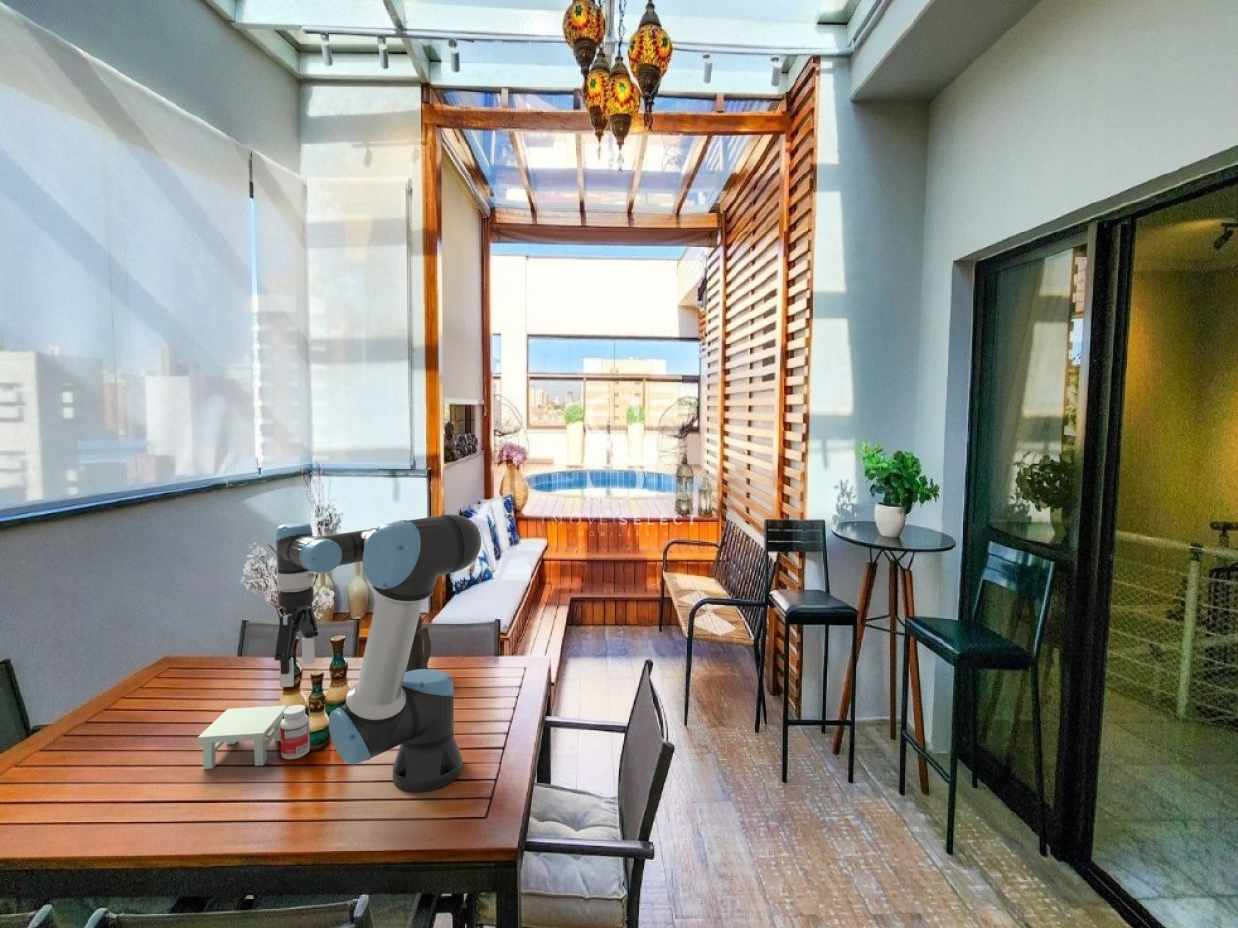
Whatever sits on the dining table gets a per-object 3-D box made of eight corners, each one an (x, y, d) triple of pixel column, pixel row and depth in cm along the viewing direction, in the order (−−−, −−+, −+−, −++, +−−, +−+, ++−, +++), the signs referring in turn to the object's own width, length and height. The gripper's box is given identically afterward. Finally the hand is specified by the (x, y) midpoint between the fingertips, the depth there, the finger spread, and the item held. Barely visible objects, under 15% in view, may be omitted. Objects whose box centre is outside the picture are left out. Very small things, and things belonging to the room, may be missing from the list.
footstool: (264, 766, 142) (263, 732, 141) (199, 770, 140) (197, 737, 139) (288, 735, 156) (287, 705, 155) (228, 739, 154) (227, 708, 153)
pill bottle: (288, 747, 150) (286, 703, 150) (314, 745, 151) (312, 702, 150) (276, 760, 144) (275, 715, 143) (303, 759, 145) (302, 714, 144)
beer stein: (378, 683, 187) (380, 620, 186) (400, 669, 198) (402, 609, 196) (421, 693, 183) (424, 628, 181) (441, 678, 193) (444, 617, 191)
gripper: (292, 602, 135) (294, 695, 136) (329, 574, 159) (331, 653, 161) (255, 603, 134) (258, 697, 135) (299, 575, 158) (301, 655, 160)
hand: (298, 674), depth 148 cm, fingers open, 13 cm apart
